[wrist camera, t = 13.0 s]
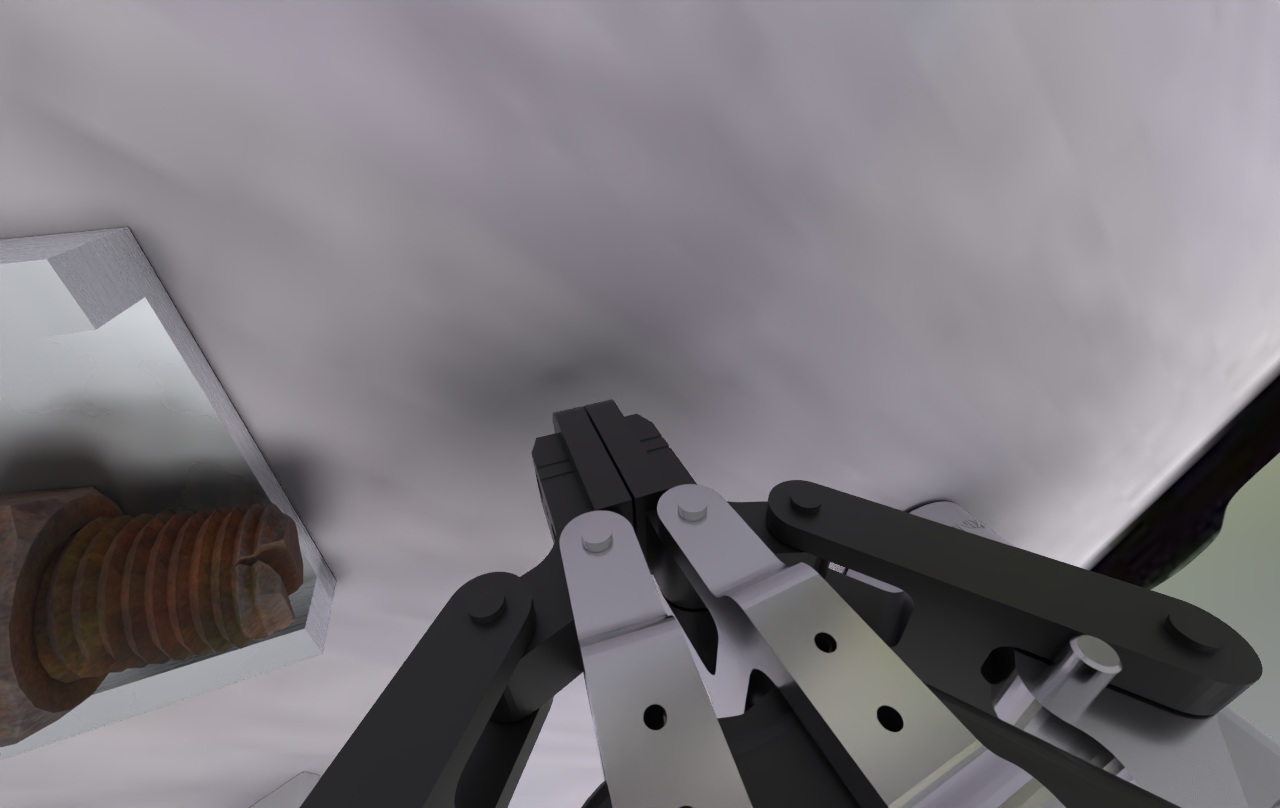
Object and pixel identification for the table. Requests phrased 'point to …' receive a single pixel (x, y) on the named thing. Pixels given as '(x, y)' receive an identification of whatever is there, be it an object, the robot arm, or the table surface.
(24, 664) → the bolt
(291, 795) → the hinge
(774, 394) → the table surface
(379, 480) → the table surface
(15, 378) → the tray
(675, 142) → the table surface
